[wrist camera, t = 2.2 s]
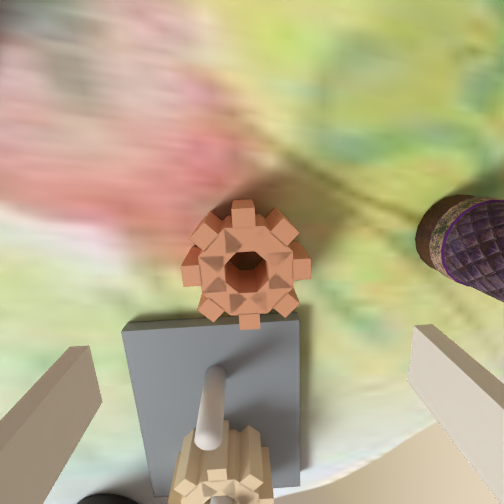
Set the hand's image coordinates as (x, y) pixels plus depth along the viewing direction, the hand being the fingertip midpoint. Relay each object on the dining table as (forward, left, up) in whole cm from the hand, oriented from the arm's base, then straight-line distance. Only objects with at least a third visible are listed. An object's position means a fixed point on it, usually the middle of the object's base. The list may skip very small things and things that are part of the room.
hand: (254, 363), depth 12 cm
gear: (0, 0, -15) cm, 15 cm away
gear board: (+16, -4, -15) cm, 22 cm away
